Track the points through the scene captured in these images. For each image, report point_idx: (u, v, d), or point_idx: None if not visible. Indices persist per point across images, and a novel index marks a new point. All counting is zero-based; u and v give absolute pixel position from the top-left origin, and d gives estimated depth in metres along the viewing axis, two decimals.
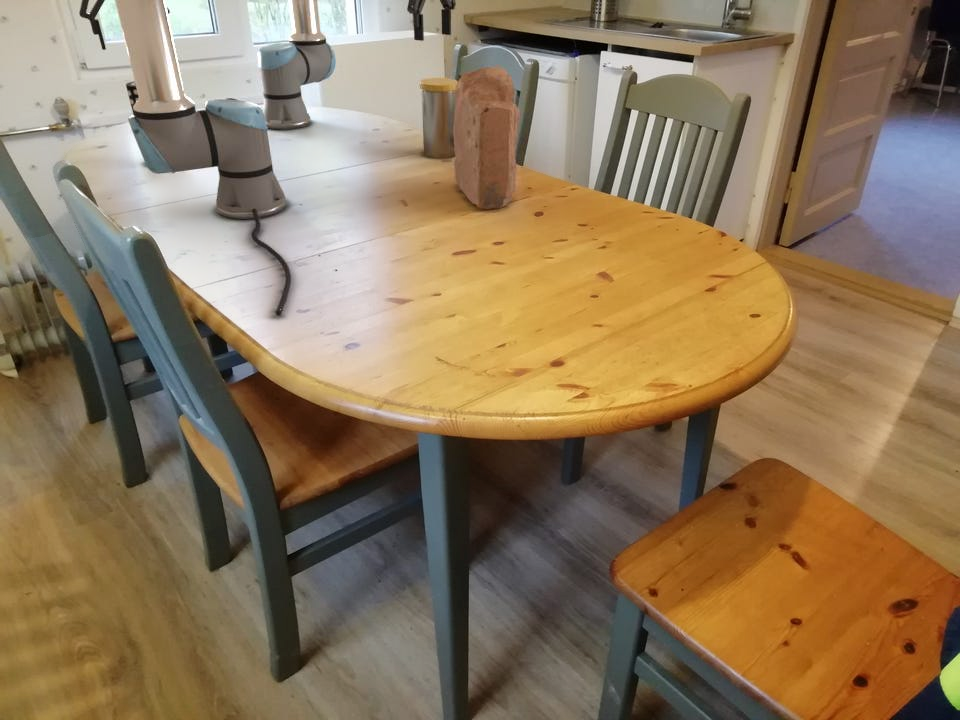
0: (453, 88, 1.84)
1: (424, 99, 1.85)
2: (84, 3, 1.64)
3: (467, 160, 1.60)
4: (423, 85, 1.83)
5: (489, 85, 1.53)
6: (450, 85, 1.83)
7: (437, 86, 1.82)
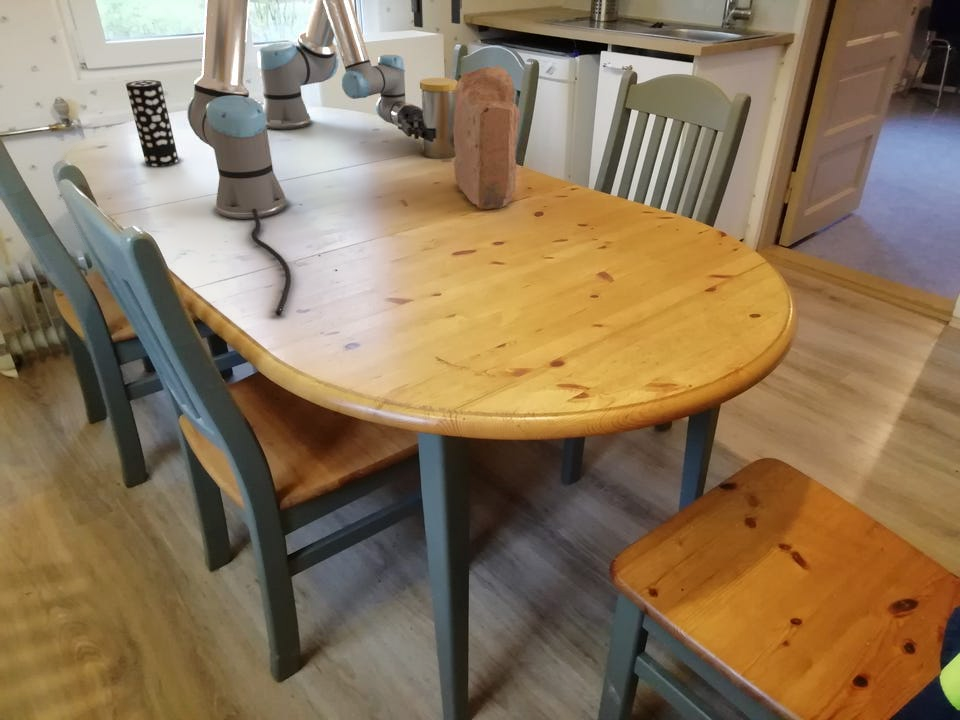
0: (453, 88, 1.84)
1: (424, 99, 1.85)
2: None
3: (467, 160, 1.60)
4: (423, 85, 1.83)
5: (489, 85, 1.53)
6: (450, 85, 1.83)
7: (437, 86, 1.82)
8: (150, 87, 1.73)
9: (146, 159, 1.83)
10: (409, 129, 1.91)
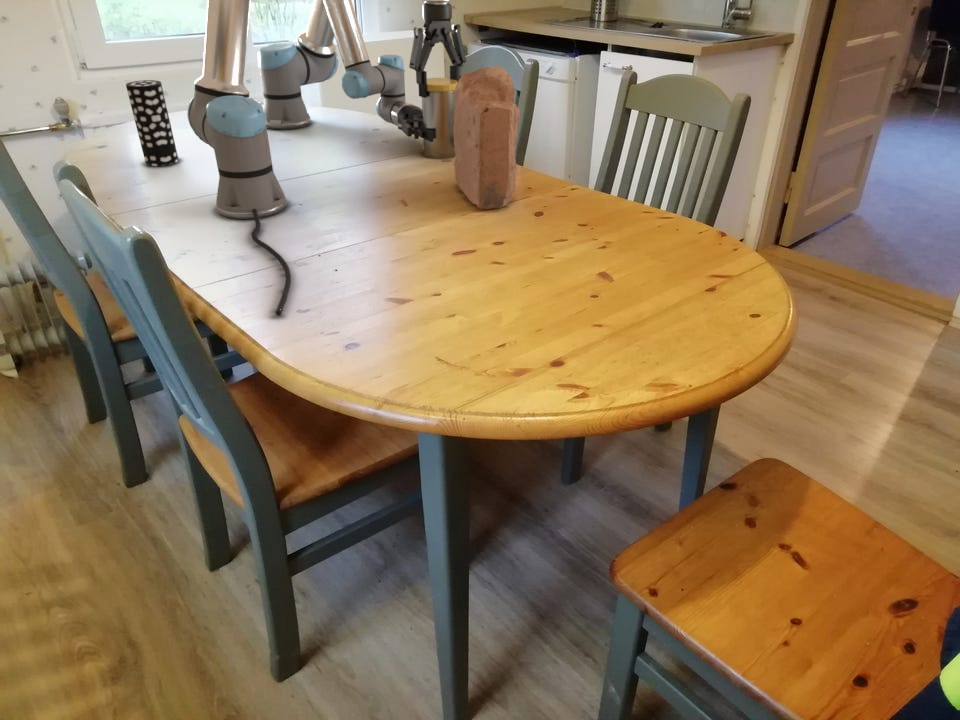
0: (453, 88, 1.84)
1: (424, 99, 1.85)
2: None
3: (467, 160, 1.60)
4: None
5: (489, 85, 1.53)
6: (450, 85, 1.83)
7: (437, 86, 1.82)
8: (150, 87, 1.73)
9: (146, 159, 1.83)
10: (409, 129, 1.91)
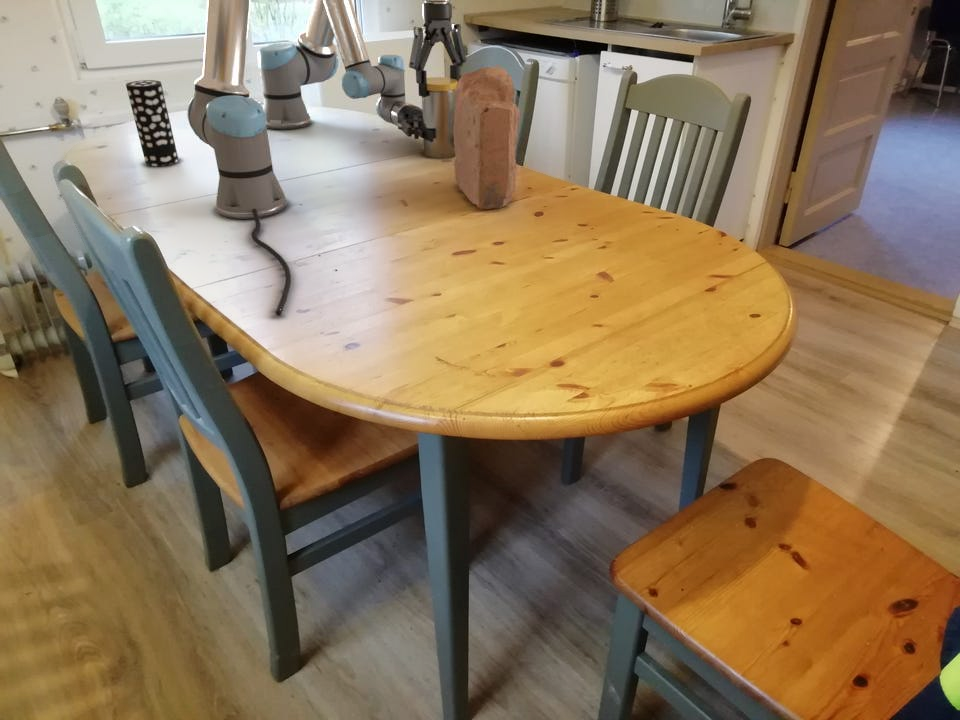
0: None
1: (424, 99, 1.85)
2: None
3: (467, 160, 1.60)
4: (451, 85, 1.83)
5: (489, 85, 1.53)
6: None
7: None
8: (150, 87, 1.73)
9: (146, 159, 1.83)
10: (409, 129, 1.91)
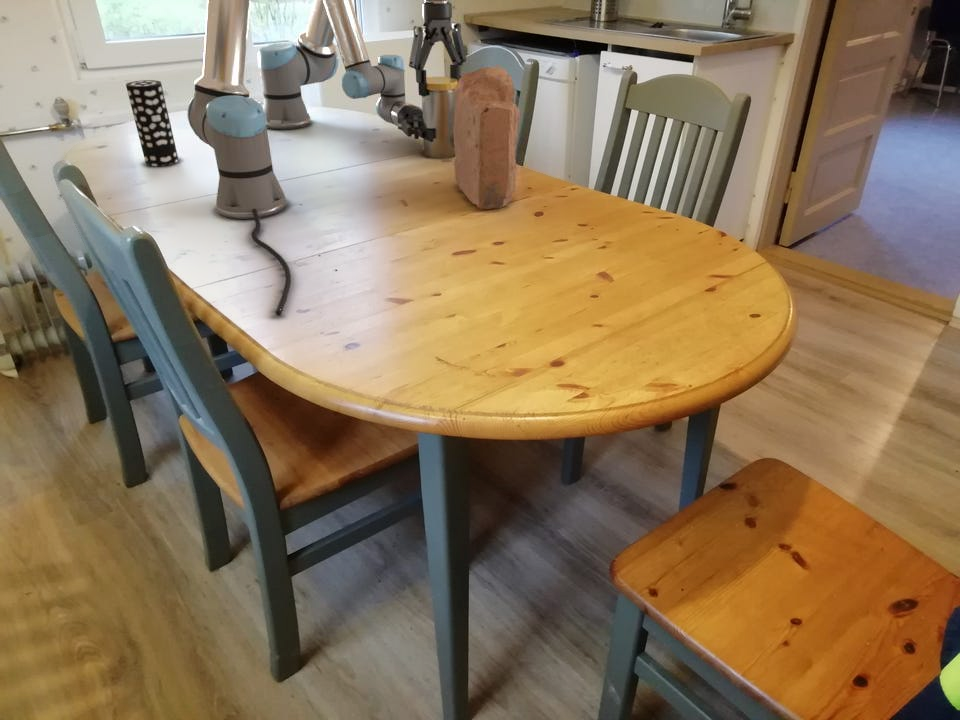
0: None
1: (424, 99, 1.85)
2: None
3: (467, 160, 1.60)
4: None
5: (489, 85, 1.53)
6: None
7: None
8: (150, 87, 1.73)
9: (146, 159, 1.83)
10: (409, 129, 1.91)
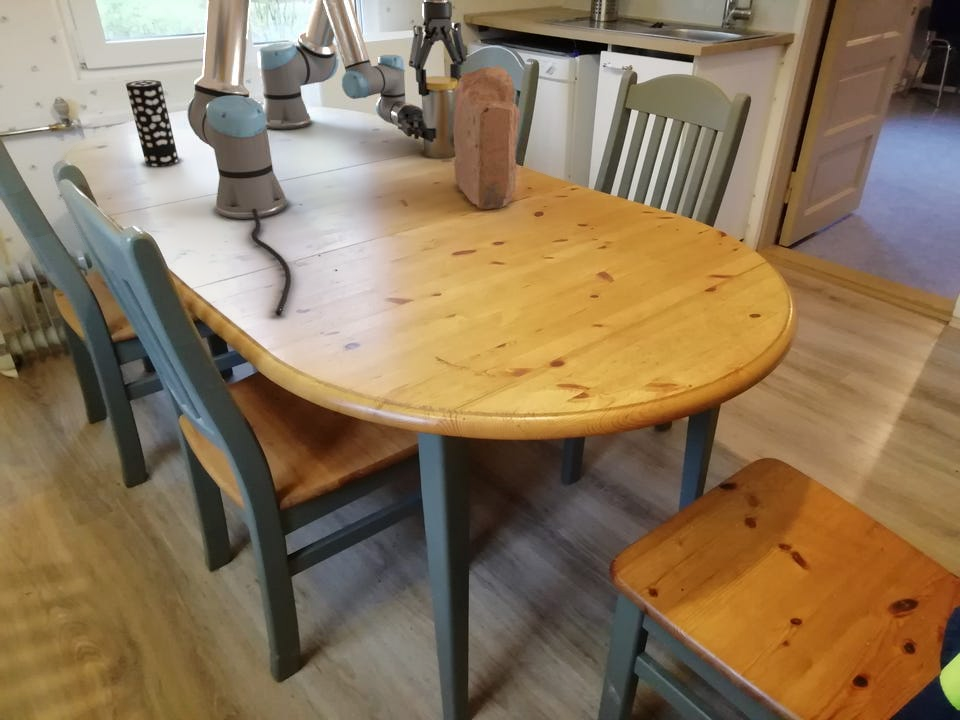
0: (430, 87, 1.82)
1: (424, 99, 1.85)
2: None
3: (467, 160, 1.60)
4: None
5: (489, 85, 1.53)
6: (426, 83, 1.82)
7: None
8: (150, 87, 1.73)
9: (146, 159, 1.83)
10: (409, 129, 1.91)
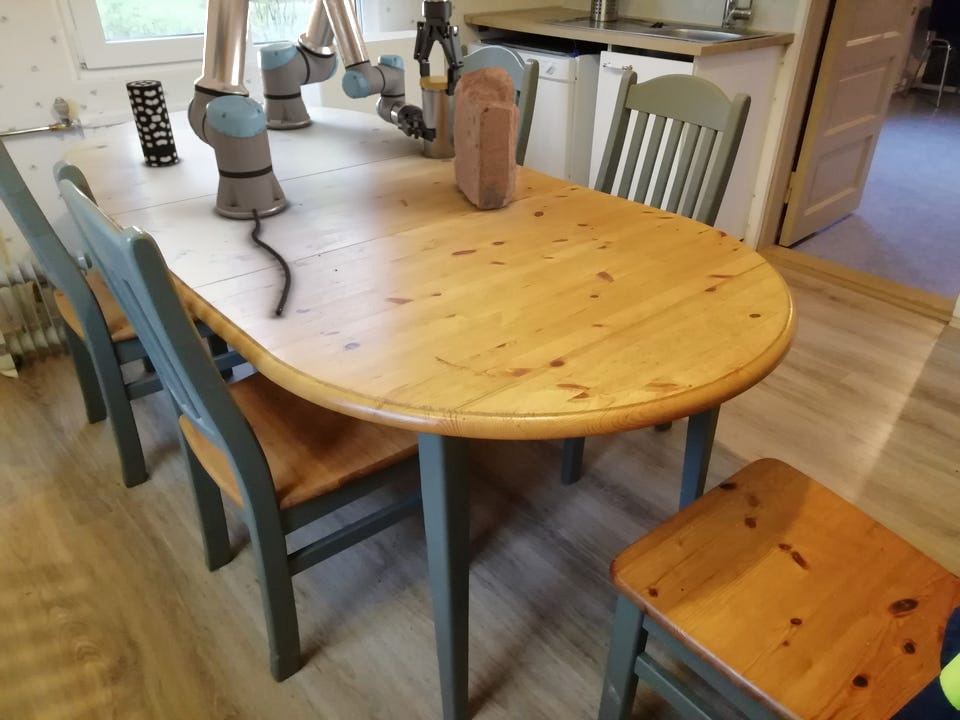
0: None
1: (424, 99, 1.85)
2: (416, 47, 1.85)
3: (467, 160, 1.60)
4: (427, 84, 1.82)
5: (489, 85, 1.53)
6: None
7: (443, 84, 1.82)
8: (150, 87, 1.73)
9: (146, 159, 1.83)
10: (409, 129, 1.91)
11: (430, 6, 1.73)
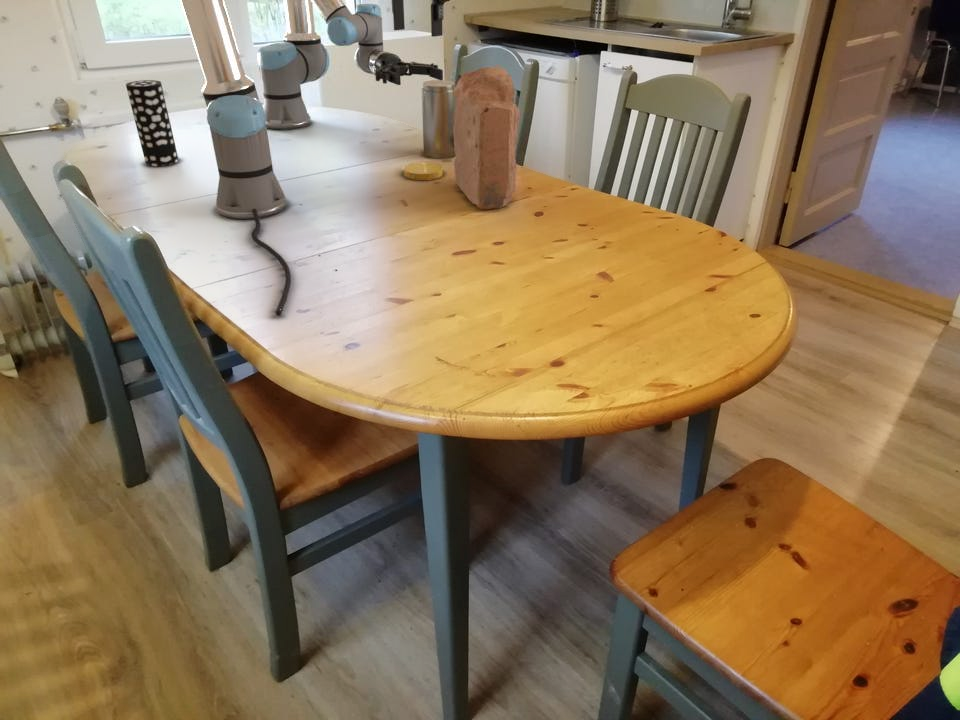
0: (441, 174, 1.79)
1: (424, 99, 1.85)
2: None
3: (467, 160, 1.60)
4: (411, 174, 1.76)
5: (489, 85, 1.53)
6: (439, 172, 1.78)
7: (428, 174, 1.76)
8: (150, 87, 1.73)
9: (146, 159, 1.83)
10: (376, 73, 1.93)
11: None
